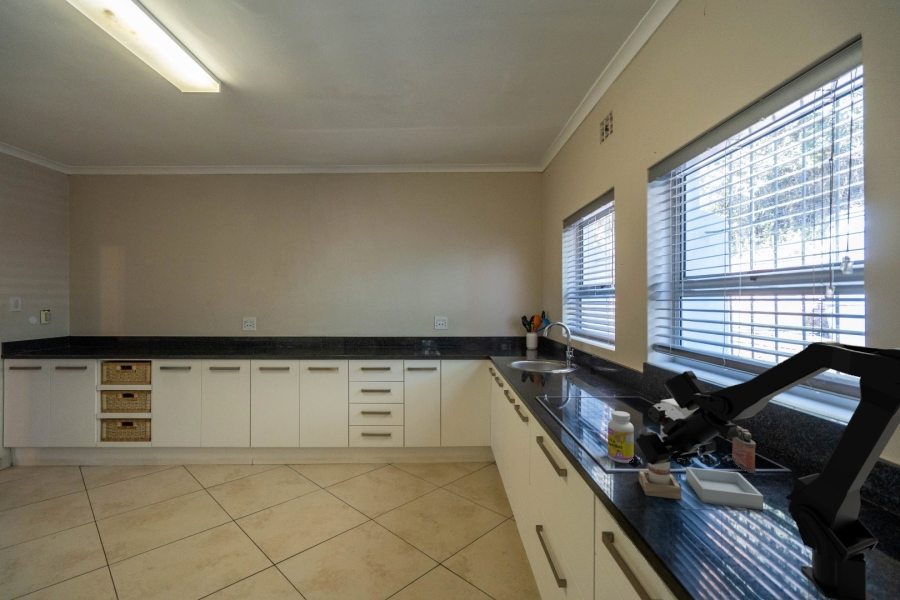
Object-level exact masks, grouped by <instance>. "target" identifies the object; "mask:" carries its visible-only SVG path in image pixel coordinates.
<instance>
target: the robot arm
mask: <svg viewBox="0 0 900 600" xmlns="http://www.w3.org/2000/svg"><path fill="white" fill-rule="evenodd" d="M829 370H833V371H836V372H839V373H842V374H844V375H848V376H852V377H857V378H859V381H858V384H859V393H860V399H859V403H858V405H857V407H856V408H855V409H854V412H853V413H852V416H851V418H850V419H849V420H848V422H847V424H846V426H845V428H844V429H843V431H842V433H841V436H840V437H839V439H838V441H837V443H836V444H835V446H834V448H833V450H832V451H831V454H830V455H829V457H828V459H827V461H826V462H825V464H824V466H823V468H822V470H821V472H820V473H814V474H810V475H807V476H803V477H799V478H796V480H795V481H794V484H793V486H792V491H791V492H790V494H788V495H787V496H785V499H786V500H790V501H789V502H788V505H787V509H788V510H787V511H788V513H789V514H790V517H791V519H792V520H793V521H794V522H795V525H796V527H797V530H798V532H799V536H800V539H801V541H802V544H803V545H804V546H806V547H808V548H810V549H811V566H806V565H800V571H802V572H803V573H804V574H805V575H806V577H808V579H809V580H810V581H811V583H812V584H814V585H815V587H816V588H817V589H818V590H819V591H820V593H822V595H824V596H825V597H826V598H830V599H834V600H877V598H875V597H874V595H872V594H871V593H870V592H869V590H867V561H866V555H865V554H864V553H866V552H868V551H872V550H874V549H875V548H876V545H877V544H878V543H879V539H878V538H877V537H876V535H875V534H874V533H873V532H872V531H871V530H870V529H869V528H868V527H867V525H866V524H865V523H864V522H863V521H862V520H861V519H860V518H859V514H860V509H861V506H862V504H861V503H862V502H861V494H860V492H861V488H862V486H863V485H864V483H865V482H866V479H867V478H868V476H869V475H870V473H871V471H872V470H873V468H874V466H875V465H876V463H877V462H878V460H879V458H880V457H881V455H882V453H884V450H885V448H886V447H887V445H888V443H889V442H890V440H891V438H892V437H893V435H894V433H895V432H896V431H897V428H898V427H899V425H900V347H894V348H892V347H891V348H881V347H872V346H864V345H856V344H855V345H854V344H849V343H848V344H847V343H841V342H839V341H834V340H833V341H832V340H830V341H815V342H812V343H809V344H808V345H807V346H806V347H805V348H804V349H803V350H801V351H799V352H797V353H795V354H794V355H792V356H790V357H789V358H786V359H784V360H783V361H781V362H779V363H777V364H776V365H774V366H771V368H769V369H767V370H765V371H764V372H762V373H760V374H758V375H756V376H755V377H753V378H751V379H749V380H747V381H744V382H741V383H738V384H733V385H730V386H727V387H723V388H720V389H718V390H717V389H716V390H710V391H708V390H707V389H706V388H705V386H704V385H703V384H702V383H701V381H700V380H699V379H698V378H697V376H696V374H695V373H694V371H693V370H685V371H684V372H682V373H680V374H678V375H675V376H673V377H672V378H669V379H667V380H666V381H665V382H664V384H663V385H664V388H666V390H667V391H668V393H669V394H670V396H671V397H672V398H674V400H675V401H676V403H677V404H678V405H679V407H680V408H681V409H683V408H687V409H688V410H694V409H697V408H698V409H697V410H695V411H694V412H693V413H692V414H690V415H689V416H687V417H685V416H684V415H683V414H682V413H681V412H680V411H679V410H677V409H676V408H675V407H674V406H672V405H671V404H669V403H661V402H660V403H656V404H654V405H652V406H651V407H649V408H648V413H647V414H648V417H649V418H650V419H651V420H652V421H653V422H654V423H659V425H660V426H661V425H662V426H663V427H664V428H663V429H662V431H663V433H664V434H665V435H667V436H665V437H662V440H663V441H664V442H662V441H661V437H660V436H659V434H658V433H657V432H654V431H649V432H644V433H643V432H642V433H640V434H638V435H637V436H636V437H635V442H636V444H637V445H638V447H639V448H640V450H641V452H642V454H643V455H644V460H645V461H646V463H647V464H649V463H650V464H652V465H655V464H660V463H666V462H670V463H671V462H672V460H678V459H681V458H687V459H692V458H694V457H695V458H696V457H699V456H698V453H697V451H699V452H700V453H701V455H702V456H704V455H709V454H712V453H714V452H715V451H717V444H716V442H715V441H714V440H713V438H715V437H717V436H718V435H719V434H720V435H721V437H722V438H723V440H729V439H730V440H731V439H733V438H736V437H738V431H737V426H738V425H737V424H735V423H732V421H737V420H743V419H748V418H752V417H754V416H755V415H756V414H758V413H759V412H760V411H762V410H763V409H765V407H766V406H767V405H768V403H769V402H770V401H771V400H772V399H774V398H775V397H777V396H779V395H781V394H783V393H785V392H786V391H789V390H791V389H793V388H795V387H796V386H799V385H801V384H803V383H804V382H807V381H810V380H811V379H813V378H815V377H817V376H819V375H821V374H823V373H825V372H827V371H829ZM698 447H699V449H698ZM700 447H701V449H702V450H700ZM669 457H670V458H669Z"/></svg>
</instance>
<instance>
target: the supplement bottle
mask: <svg viewBox="0 0 900 600" xmlns="http://www.w3.org/2000/svg"><path fill="white" fill-rule="evenodd" d="M611 417H612V419H610V420H609V422H608V424H607V457H608V459H610V460H611V461H613V462H616V463H619V464H629V461H631V460H632V459H633V460H634V458H635V457H634V456H635V455H634V452H635V451H634V449H635V448H634V447H635V446H634V445H635V444H634V439H635V438H634V437H635V433H634V432H635V431H634V430H635V427H634V425H633V424H632V423H631V422H630V419H631V414H630V413H629V412H626V411H621V410H614V411H612V412H611ZM633 457H634V458H633Z"/></svg>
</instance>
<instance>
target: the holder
mask: <svg viewBox="0 0 900 600" xmlns="http://www.w3.org/2000/svg"><path fill="white" fill-rule="evenodd" d="M638 481H639V484H640V486H641V488H642V490H643V492H644V494H645V496H651V497H658V498H660V497H661V498H667V499H673V500H674V499H675V500H682V487H681V486H680V485H679V483H678V482H677V479H676V478H675V477H674V475H673V474H672V473H670V485H662V484H654V483H649V470H640V469H639V470H638Z"/></svg>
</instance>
